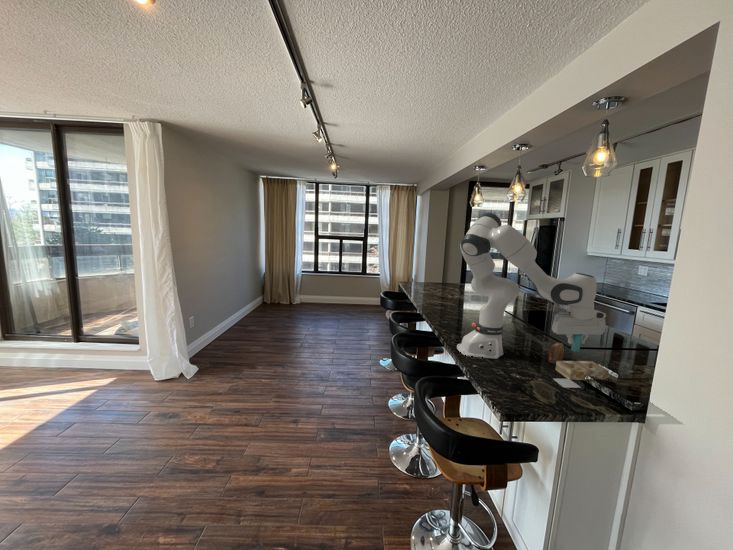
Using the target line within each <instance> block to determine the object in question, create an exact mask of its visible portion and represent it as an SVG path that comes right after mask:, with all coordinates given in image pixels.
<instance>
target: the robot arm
mask: <svg viewBox="0 0 733 550" xmlns="http://www.w3.org/2000/svg"><path fill="white" fill-rule="evenodd" d="M459 248H460V252H461V254H462V256H463V259H464V261H465V262H466V265H467V266H468V268H469V270H470V271H471V274H472V277H473V278H472V279H471V283H470V286H471V289H472V291H474V292H475V293H477V294H478V295H481V296H484V297H487V298H488V301H487V303H486V304H484V305H482V306H481V307H480V308H479V317H478V318H479V319H478V323H477V324H476V323H475V322H471V326H472V327H473V328H474V329H473V330H472V331H471V332H469V333H466V335H464V336H463V337H462V340H461V343H458V344H457V345H456V350H458V351H459V353H460V352H461V353H460V354H462V355H463V356H465V355H466V357H471V356H473V358H482V357H483V359H495V360H498V359H500V357H501V356H503V355H504V350H503V341H502V340H503V334H504V333H503V332H504V325H503V323H504V316H505V311H506V309H507V306H509V304H510V303H511V302H513V301H515V300H516V299H517V298H518V296H519V293H520V287H519V284H518V283H517V282H516V281H513V280H511V279H510V278H505V277H501V276H497V275H495V274H494V273H493V272H494V270H495V267H496V264H495V261H494V259H493V258H492V256H491V254H490V251H491V250H492V249H494V250H497V252H499V253H500V254H501V256H502V257H504V259H506V260H507V261H508V263H510V264H512V265H513V266H514V267H516V268H518V269H519V270H520V271H522V273H523V274H524V275H525V276H526V277H527V279H529V280H530V281H531V282H532V283H533V285H534V288H535V291H536V294H537V295H538V296H539V297H540V298H542V299H545V300H548V301H549V302H552V303H555V304H556V305H563V306H565V305H567V311H559V312H557V313H555V314H554V315H553V320H552V321H553V322H552V326H551V331H552V332H553V333H554V334H556V335H565V336H566V338H567V343H568V344H569V345H572V344H574V340H573V339H572V337H573V334H582V337H581V344H580V345H585V343H586V340H587V339H588V338H589V335H603V334H604V333H605V331H606V319H605V318H606V317H607V314H606V313H605V312H602V311H600V310H598V309H595V302H594V301H595V299H596V296H597V278H596V277H595V276H593V275H590V274H586V273H581V272H574V273H572V275H570V276H569V277H566V278H562V279H558V278H556V277H553V276H551V275H548V274H546V272H545V271H544V270H543V269H542V268H541V267H540V266H539V265H538V264H537V263H536V262H537V261H536V258H537V256H538V255H537V254H538V251H537V249H536V248H535V246H534V244H532V242H531V241H530V240H529V239H528V238H527V237H526V236H525V235H524V234H523V233H521V231H519V230H517V229H516V228H515V227H513V226H511V225H510V224H502V220H501V218H500V217H499V216H498V215H496V214H494V213H492V212H487V213H484V214H482V215H480V216H479V217H478V218H477V220H476V221H475V222H474V223H473V224H472V225H470V227H469V228H468V230H467V232H466V234H465V235H464V236H463V237H462V239H461V242H460V244H459Z"/></svg>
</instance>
